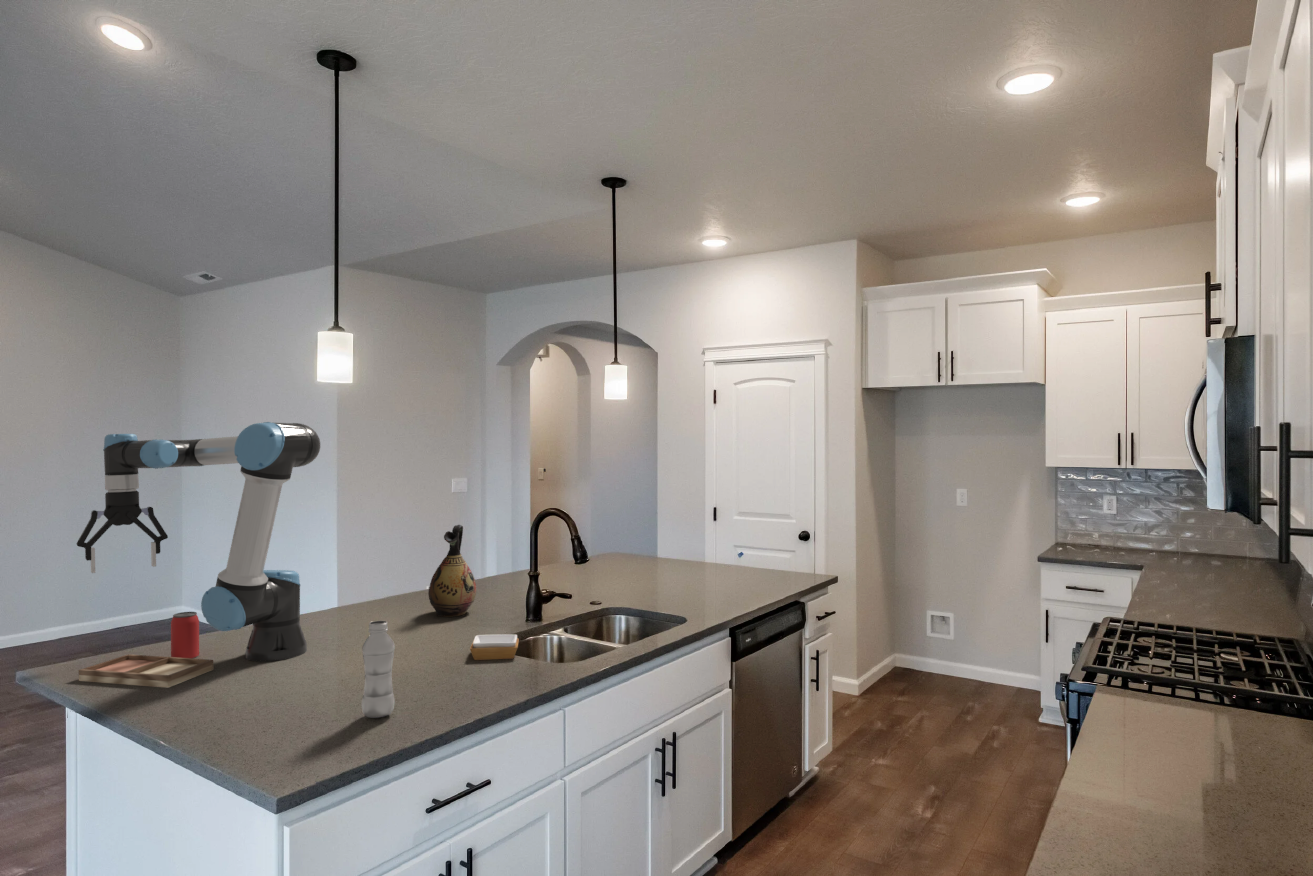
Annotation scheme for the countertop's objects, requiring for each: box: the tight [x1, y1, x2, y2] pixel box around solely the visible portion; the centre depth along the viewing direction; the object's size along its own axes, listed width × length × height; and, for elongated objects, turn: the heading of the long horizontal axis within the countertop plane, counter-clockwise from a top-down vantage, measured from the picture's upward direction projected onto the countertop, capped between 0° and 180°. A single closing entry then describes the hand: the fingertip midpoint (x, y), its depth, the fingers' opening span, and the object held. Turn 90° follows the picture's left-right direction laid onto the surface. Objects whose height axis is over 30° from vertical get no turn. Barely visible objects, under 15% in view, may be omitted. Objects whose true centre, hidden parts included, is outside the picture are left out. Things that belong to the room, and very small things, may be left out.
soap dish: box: [469, 633, 520, 661], centre depth 210 cm, size 12×10×5 cm
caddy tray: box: [78, 653, 214, 689], centre depth 194 cm, size 26×14×3 cm, turn 78°
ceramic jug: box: [427, 524, 477, 618], centre depth 259 cm, size 17×15×30 cm
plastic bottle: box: [361, 620, 396, 719], centre depth 165 cm, size 6×7×20 cm
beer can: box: [170, 611, 200, 659], centre depth 209 cm, size 7×7×12 cm
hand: (124, 569), depth 209 cm, fingers open, 13 cm apart
